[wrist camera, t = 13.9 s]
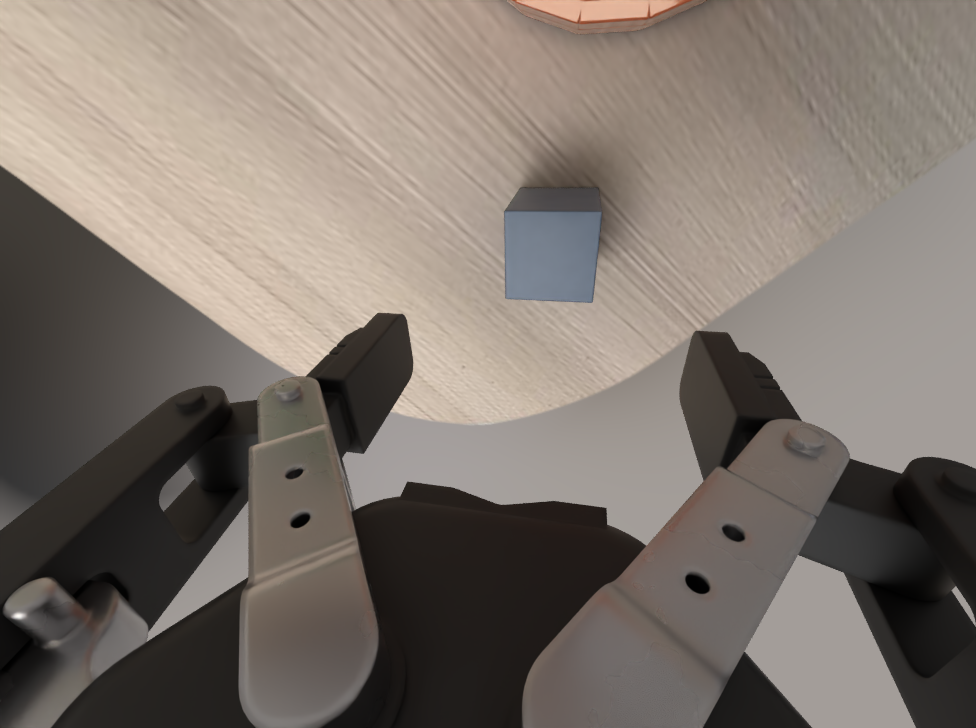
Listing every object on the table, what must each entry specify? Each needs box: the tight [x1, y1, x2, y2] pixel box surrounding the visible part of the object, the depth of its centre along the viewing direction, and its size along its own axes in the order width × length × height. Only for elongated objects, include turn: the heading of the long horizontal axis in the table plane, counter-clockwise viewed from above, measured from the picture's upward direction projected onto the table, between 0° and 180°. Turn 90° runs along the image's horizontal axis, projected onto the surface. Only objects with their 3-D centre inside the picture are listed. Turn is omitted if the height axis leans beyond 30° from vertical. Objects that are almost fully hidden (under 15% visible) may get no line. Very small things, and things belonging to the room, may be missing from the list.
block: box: [504, 188, 602, 303], centre depth 23 cm, size 4×4×6 cm
